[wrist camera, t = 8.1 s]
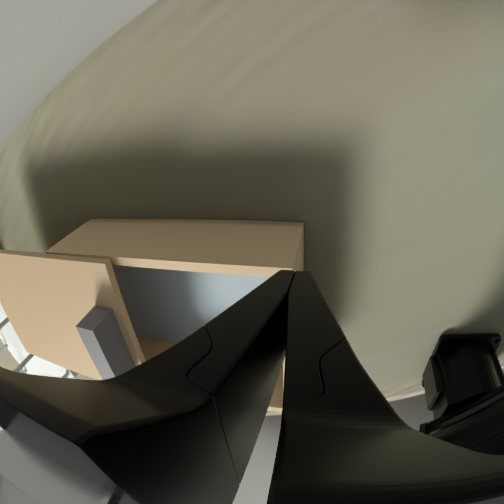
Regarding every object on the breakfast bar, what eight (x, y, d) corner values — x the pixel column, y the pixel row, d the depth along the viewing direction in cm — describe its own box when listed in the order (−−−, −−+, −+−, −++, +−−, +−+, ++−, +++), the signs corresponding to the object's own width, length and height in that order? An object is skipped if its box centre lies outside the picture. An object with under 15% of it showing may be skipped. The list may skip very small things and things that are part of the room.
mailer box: (303, 221, 22) (292, 268, 16) (301, 358, 28) (291, 413, 23) (91, 218, 26) (45, 251, 21) (128, 333, 32) (99, 372, 27)
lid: (110, 259, 19) (81, 285, 16) (159, 392, 25) (144, 419, 22) (-18, 247, 23) (-39, 262, 21) (29, 348, 29) (14, 365, 27)
